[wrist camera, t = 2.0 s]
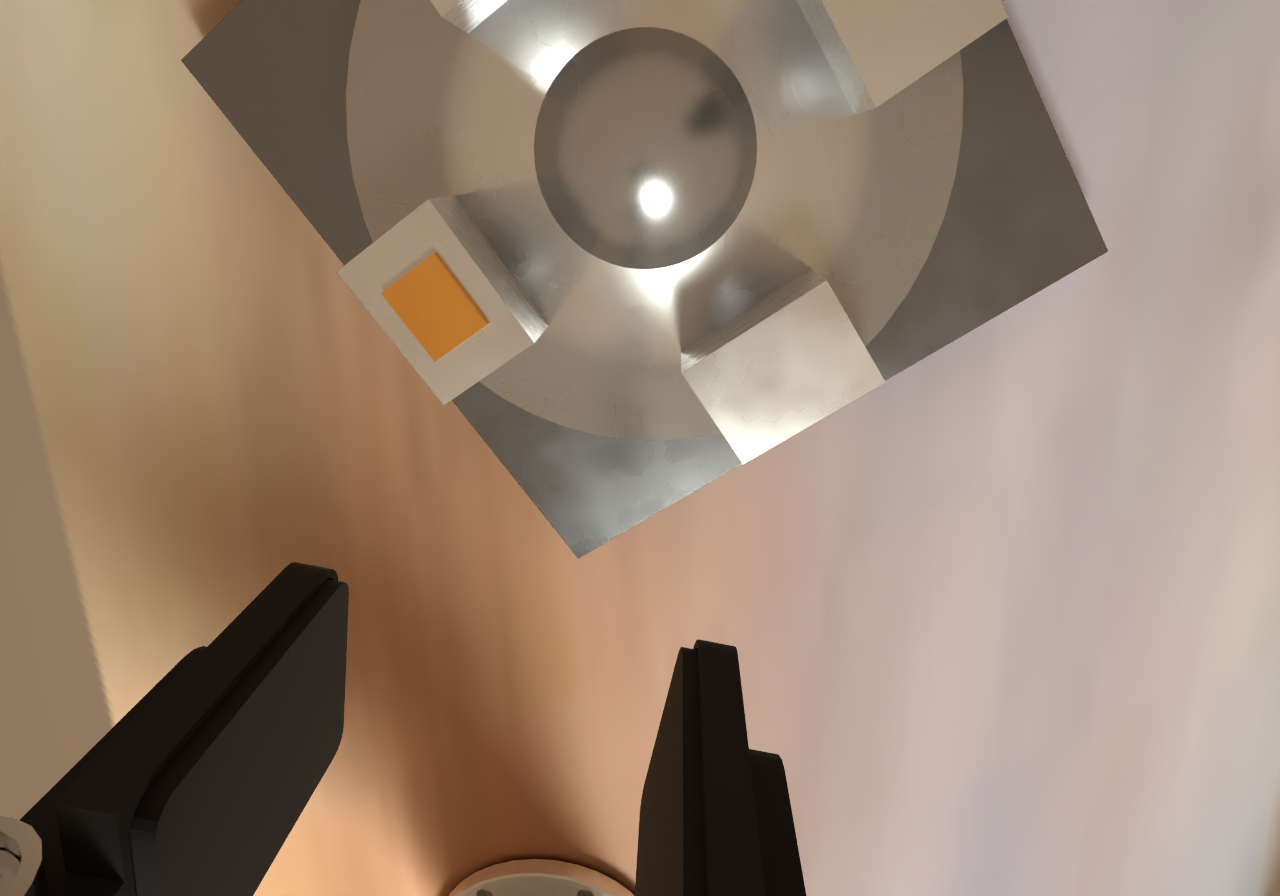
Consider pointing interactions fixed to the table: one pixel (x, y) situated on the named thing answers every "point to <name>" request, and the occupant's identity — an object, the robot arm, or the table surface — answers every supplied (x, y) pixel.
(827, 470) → the table surface
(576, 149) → the silver hub plate
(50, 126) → the table surface
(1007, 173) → the grey square base plate
